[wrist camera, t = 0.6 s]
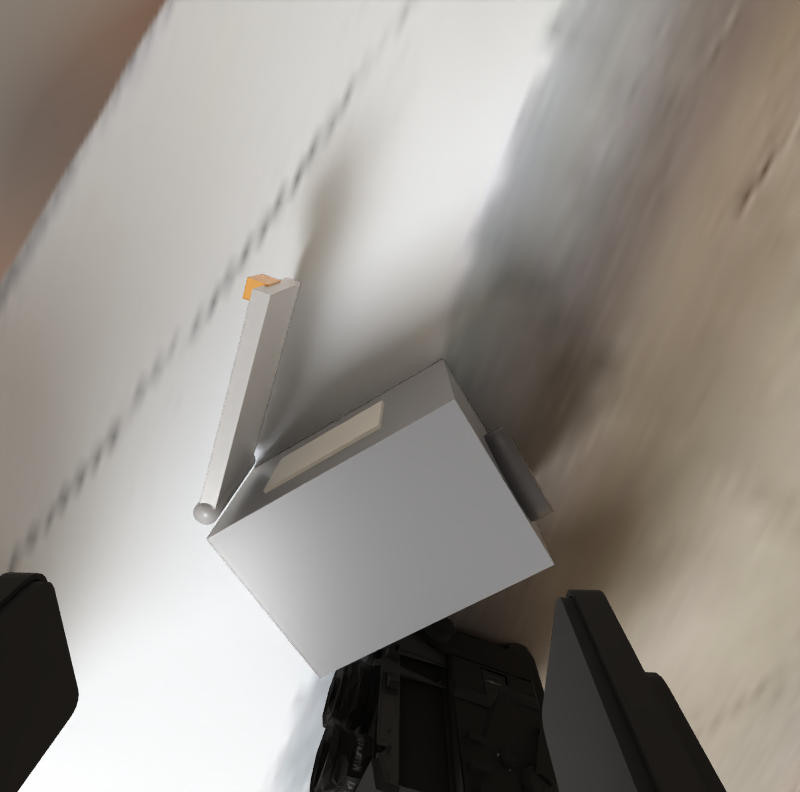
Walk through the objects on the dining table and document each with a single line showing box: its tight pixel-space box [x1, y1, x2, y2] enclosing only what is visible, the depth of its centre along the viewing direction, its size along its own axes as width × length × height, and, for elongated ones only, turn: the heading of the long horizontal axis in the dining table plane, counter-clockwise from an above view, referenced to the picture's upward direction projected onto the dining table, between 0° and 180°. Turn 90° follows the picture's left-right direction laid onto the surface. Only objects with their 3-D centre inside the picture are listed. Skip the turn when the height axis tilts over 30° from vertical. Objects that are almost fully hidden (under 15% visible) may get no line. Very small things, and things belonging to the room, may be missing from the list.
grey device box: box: [206, 359, 554, 678], centre depth 29 cm, size 15×10×8 cm
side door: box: [193, 274, 301, 525], centre depth 27 cm, size 12×2×6 cm, turn 161°
